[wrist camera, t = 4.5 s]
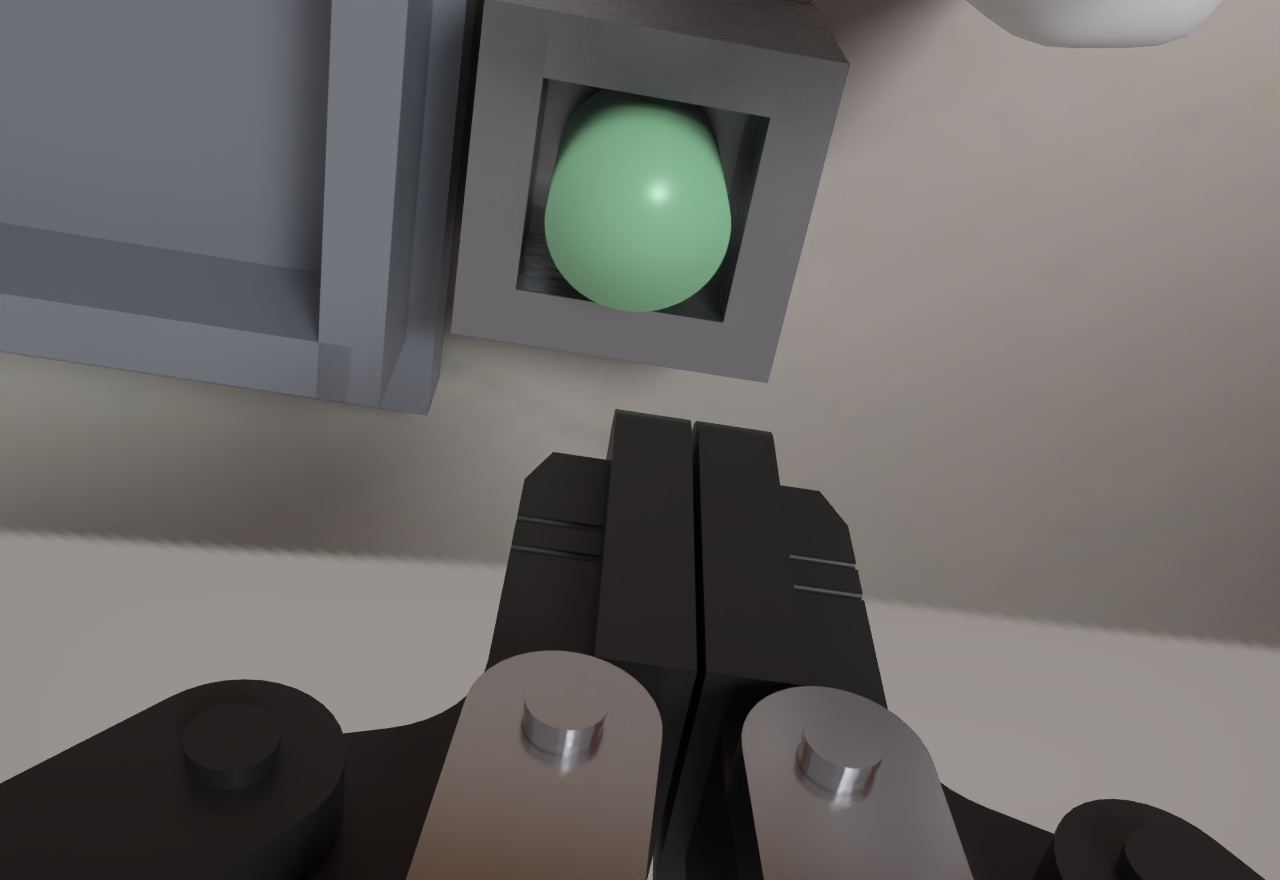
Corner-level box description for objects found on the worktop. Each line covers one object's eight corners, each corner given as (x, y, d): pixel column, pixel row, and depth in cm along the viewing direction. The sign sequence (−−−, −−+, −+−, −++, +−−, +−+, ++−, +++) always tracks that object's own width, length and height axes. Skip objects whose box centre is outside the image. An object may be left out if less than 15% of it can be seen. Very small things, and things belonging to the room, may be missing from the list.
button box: (813, 5, 20) (849, 64, 16) (748, 282, 22) (767, 382, 19) (513, -50, 19) (484, -2, 16) (480, 238, 22) (450, 334, 18)
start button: (735, 97, 19) (748, 152, 16) (702, 252, 20) (710, 324, 17) (569, 67, 18) (558, 119, 16) (546, 227, 20) (533, 296, 17)
